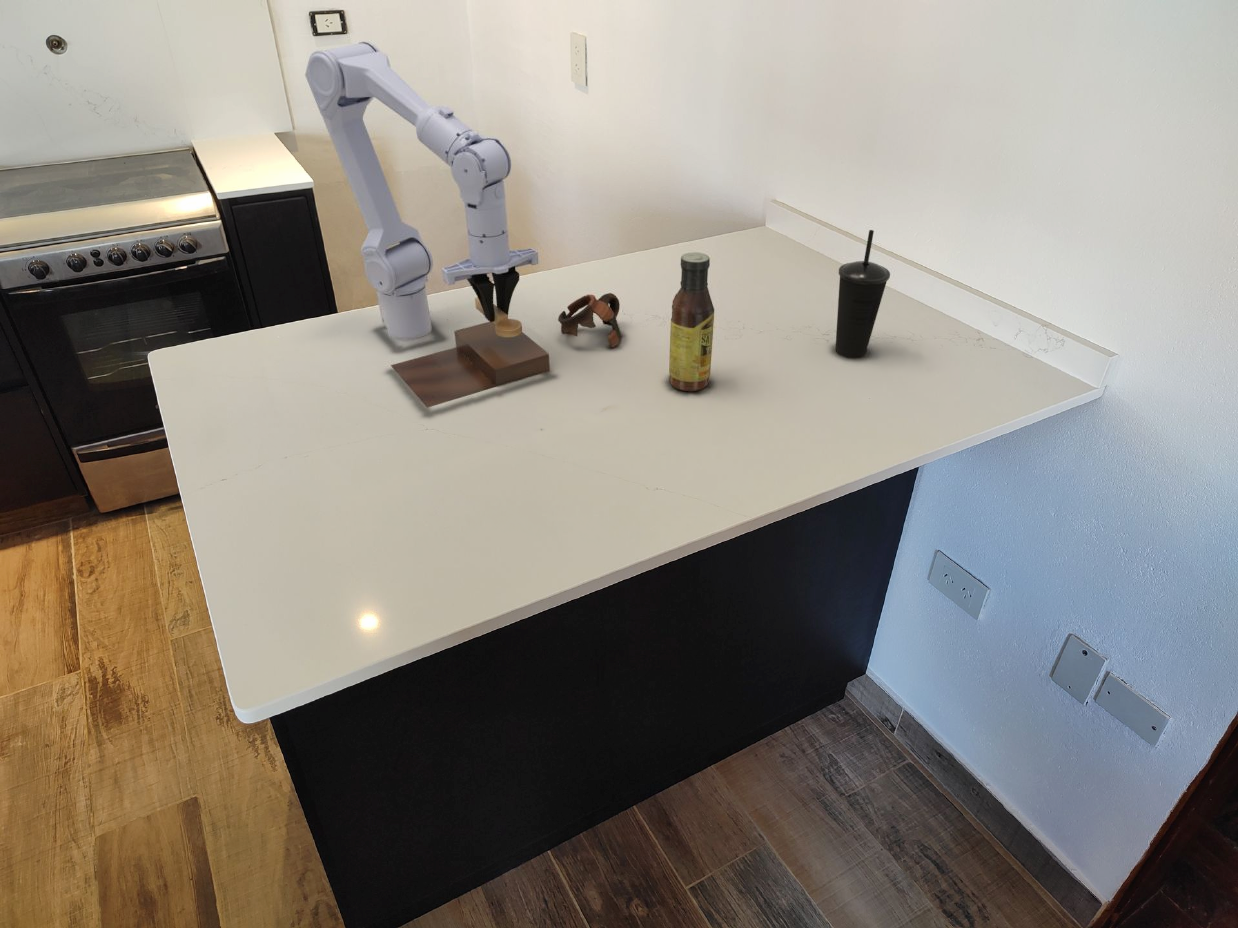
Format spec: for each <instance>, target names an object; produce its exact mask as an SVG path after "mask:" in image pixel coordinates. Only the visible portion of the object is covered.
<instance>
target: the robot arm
mask: <svg viewBox="0 0 1238 928" xmlns="http://www.w3.org/2000/svg"><path fill="white" fill-rule="evenodd" d="M306 66H307V67H306V69H305V74H304V76H305V78H306V81H307V83H308V86H309V89H310V91H311V93H312V96H313V98H314V102H315V103H316V105H317V108H318V111H319V113H320V115H321V116H322V119H323V122H324V125H325V126H326V130H327V132H328V134H329V137H330V140H331V141H332V145H333V147H334V150H335V152H336V154H337V157H338V159H339V162H340V165H341V166H342V169H343V171H344V174H345V176H346V179H347V181H348V184H349V187H350V189H351V191H352V194H353V196H354V199H355V201H356V204H357V206H358V208H359V211H360V214H361V216H362V219H363V221H364V224H365V226H366V228H367V231H368V232H367V233H368V234H367V236H366V237H365V240H364V241H363V244H362V245H361V248H360V253H361V256H362V259H363V263H364V272H365V276H366V279H367V281H368V282H369V284H370V285H371V286H372V288H374V289H375V291H376V296H377V302H378V309H379V313H380V319H381V324H382V325H383V326H384V327H385V328H386V329H387V334H388V336H389V337H390V338H393V339H395V340H401V341H411V340H416V339H421V338H423V337H425V336H427V335H428V334H430V333H431V331H432V329H433V327H432V322H431V321H432V320H431V315H430V307H429V300H428V299H429V298H428V293H427V287H426V283H427V282H429V278H428V277H429V276H428V275H429V274H431V272H432V270H433V267H434V261H433V260H434V259H433V256H432V253H431V250H430V249H429V248H428V246H427V245H426V243H425V242H424V241H423V239H422V237H421V235H420V232H419V230H418V229H417V228H416V227H414V226H412V225H409V224H407V223H406V222H404V221H403V220H402V217H401V215H400V213H399V210H398V207H397V205H396V202H395V200H394V197H393V194H392V192H391V189H390V187H389V184H388V181H387V179H386V176H385V174H384V171H383V169H382V165H381V163H380V161H379V158H378V155H377V153H376V150H375V148H374V144H373V142H372V139H371V137H370V134H369V132H368V130H367V127H366V125H365V121H364V115H365V112H366V109H367V107H368V106H369V105H370V103H371V102H372V101H373V100H374V99H376V100H378V101H379V102H380V103H382V104H383V105H385V106H386V107H387V108H388V109H390V110H391V111H392V112H394V113H396V115H398V116H400V117H402V119H404V120H406V121H407V122H408V123H409V124H411V125H412V126H414V127H415V131H416V136H417V137H416V138H417V140H418V141H419V142H420V143H421V144H422V145H424V146H425V147H426V148H428V150H429V151H431V152H432V153H433V154H434V155H435V156H437V157H438V158H439V159H441V161H443V162H444V163H445V164H446V165H448V166H449V167H450V173H451V176H452V178H453V180H454V182H455V183H456V185H457V187H458V189H459V195H460V198H461V199H462V202H463V204H464V212H465V220H466V229H467V238H468V247H469V248H468V249H469V257H468V258H466V259H463V260H461V261H459V262H456V263H454V264H451V265H448V266H446V267H442V268H441V274H442V281H443V282H444V283H445V284H446V285H448V286H451V285H455V284H456V282H460V281H465V280H466V281H467V282H468V283H469V285H470V287H471V288H472V289H473V292H474V293H475V295H476V298H477V297H478V299H479V301H480V303H481V306H482V308H483V311H484V315H485V316H484V315H483V316H484V318H485V319H486V320H487V321H488V322H493V321H495V312H494V304H495V303H496V306H497V307H498V308H499V309H501V310H502V311H503V312H504V313H506V314H507V315H508V316H509V313H510V312H509V311H510V305H511V301H512V299H513V294H514V292H515V289H516V288H517V285H518V283H519V282H520V273H519V272H518V271H517V270H516V268H519V267H524V266H527V265H531V266H536V265H539V252H538V251H537V250H535V249H534V248H533V247H530V248H523V249H513V250H510V240H509V239H510V238H509V228H508V227H509V225H508V216H507V201H506V194H505V193H506V191H505V181H504V180H506V179H507V178H508V177H509V176H510V174H511V170H512V160H511V156H510V152H509V151H508V149H507V148H506V146H505V145H504V144H503V143H502V142H501V140H500V139H499V138H497V137H494V136H488V137H486V136H484V135H482V134H481V135H480V134H479V133H478V132H477V131H475V130H474V129H471V127H470V126H468V125H467V124H466V123H464V122H463V121H462V120H461V119H460V118H458V117H457V116H456V115H455V111H454V110H452V109H451V108H450V107H449V106H443V105H435V106H434V105H433V106H431V105H430V104H429V103H428V102H427V101H426V100H425V99H423V98H422V96H421V95H420V94H418V92H417V91H416V90H415V89H413V87H411V86H410V84H408V83H407V82H406V81H405V80H404V79H403V78H402V77H401V76H400V75H399V74H398V73H397V72H396V71H395V70H394V69H392V67H391V64H390V60H389V57H388V55H387V54H386V53H385V52H383V51H381V50H380V49H379V48H378V47H377V46H376V44H374V43H372V42H370V41H366V40H365V41H359V42H358V43H355V44H349V45H344V46H339V47H334V48H330V49H325V50H323V49H317V50H314V51H313V52H312V53H311V54H310V56H309V57H308V60H307V65H306ZM489 274H491V277H492V280H493V282H492V281H491V280H490V276H488V275H489ZM494 290H495V291H494ZM494 292H495V300H496V301H495V303H494Z"/></svg>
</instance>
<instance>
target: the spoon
mask: <svg viewBox="0 0 1238 928" xmlns="http://www.w3.org/2000/svg"><path fill="white" fill-rule="evenodd" d="M474 302H475V309H476V310H477V311H478V312H480V313H481V314H482V315H483V316H484V317H485V315H484V311H483V308H482V306H481V303H480V301H479V299H478V297H477V296H476V297H474ZM493 304H494V312H495V321H493V323H494V324H495V332H496V334H497V335H498V336H501V337H514V336H517V335H519V334H521V333H522V332H523V323H522V322H521V321H520V320H519V319H514V318H509V314H508V315H507V314H506V313H504V312H503V311H502V310H501V309H499V308H498V307H497V304H495V303H493Z"/></svg>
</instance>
